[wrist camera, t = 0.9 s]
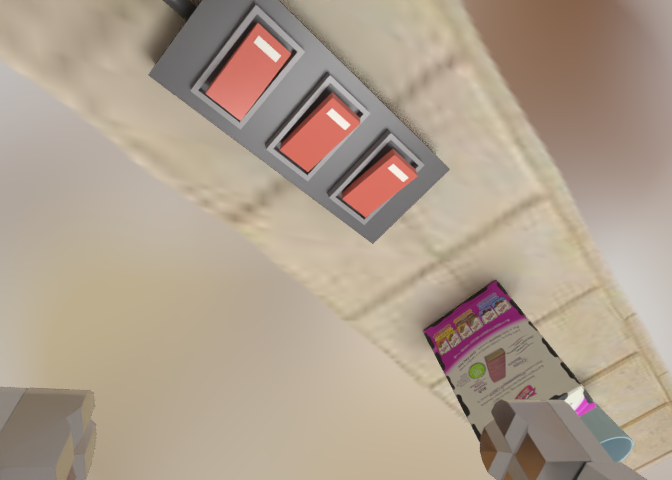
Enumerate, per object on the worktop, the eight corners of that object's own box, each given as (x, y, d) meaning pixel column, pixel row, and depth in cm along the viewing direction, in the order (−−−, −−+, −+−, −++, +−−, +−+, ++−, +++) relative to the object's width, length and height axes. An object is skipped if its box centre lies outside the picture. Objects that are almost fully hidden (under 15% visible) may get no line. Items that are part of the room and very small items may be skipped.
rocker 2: (280, 143, 37) (279, 150, 37) (332, 91, 35) (332, 98, 34) (307, 165, 39) (307, 172, 38) (359, 117, 36) (360, 124, 35)
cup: (592, 373, 69) (643, 434, 61) (574, 406, 73) (619, 468, 65) (547, 377, 68) (592, 440, 59) (531, 411, 72) (571, 475, 63)
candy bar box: (441, 349, 60) (502, 467, 47) (421, 330, 58) (479, 449, 44) (514, 299, 58) (601, 408, 44) (496, 277, 55) (582, 386, 42)
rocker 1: (204, 92, 33) (205, 93, 32) (255, 23, 32) (258, 22, 31) (238, 119, 35) (240, 121, 34) (288, 53, 34) (291, 53, 33)
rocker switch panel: (106, 27, 34) (91, 36, 31) (185, -92, 31) (179, -97, 28) (364, 225, 48) (375, 248, 44) (435, 155, 45) (453, 173, 41)
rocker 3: (341, 192, 41) (342, 199, 40) (393, 148, 38) (394, 155, 37) (364, 210, 42) (365, 218, 41) (415, 169, 40) (418, 176, 39)
